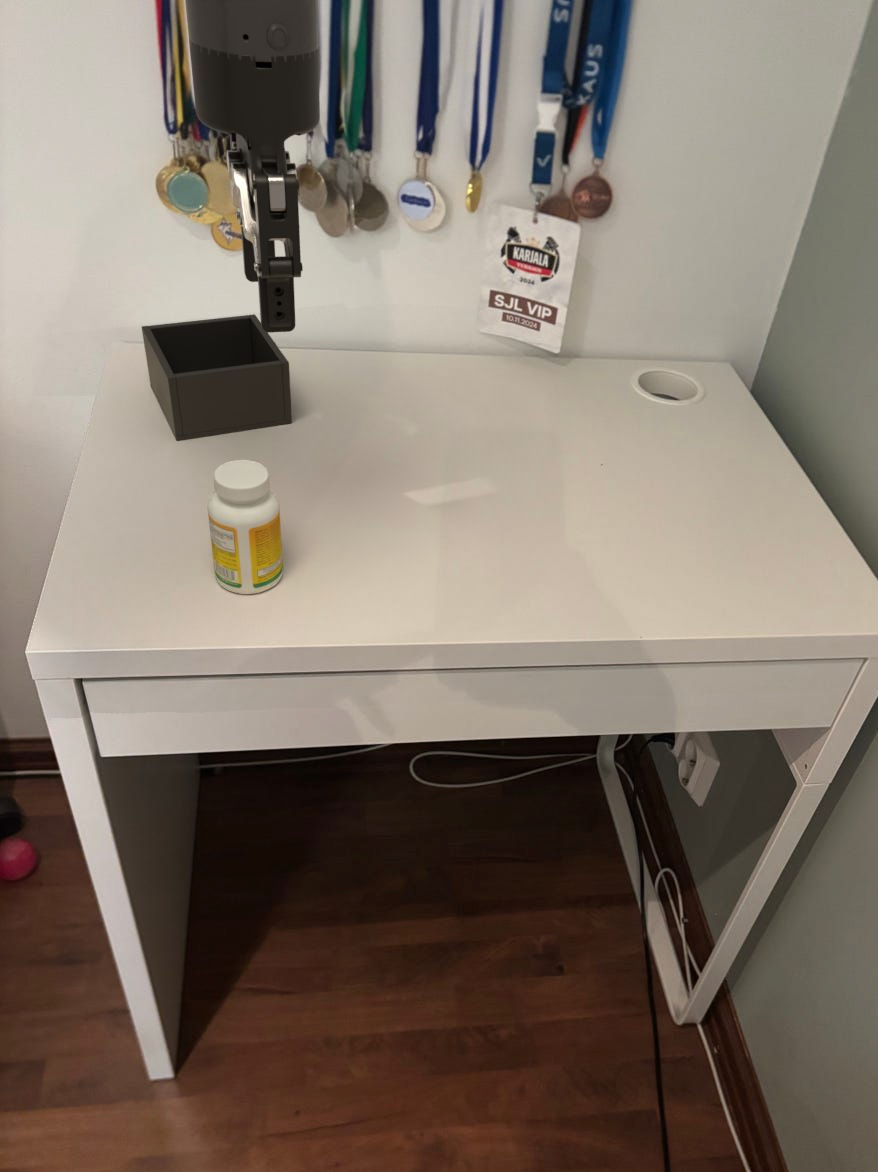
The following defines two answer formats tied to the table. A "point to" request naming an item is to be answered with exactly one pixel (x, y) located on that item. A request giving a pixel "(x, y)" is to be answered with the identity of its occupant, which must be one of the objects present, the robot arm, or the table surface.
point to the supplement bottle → (245, 528)
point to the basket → (217, 376)
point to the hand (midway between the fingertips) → (269, 303)
